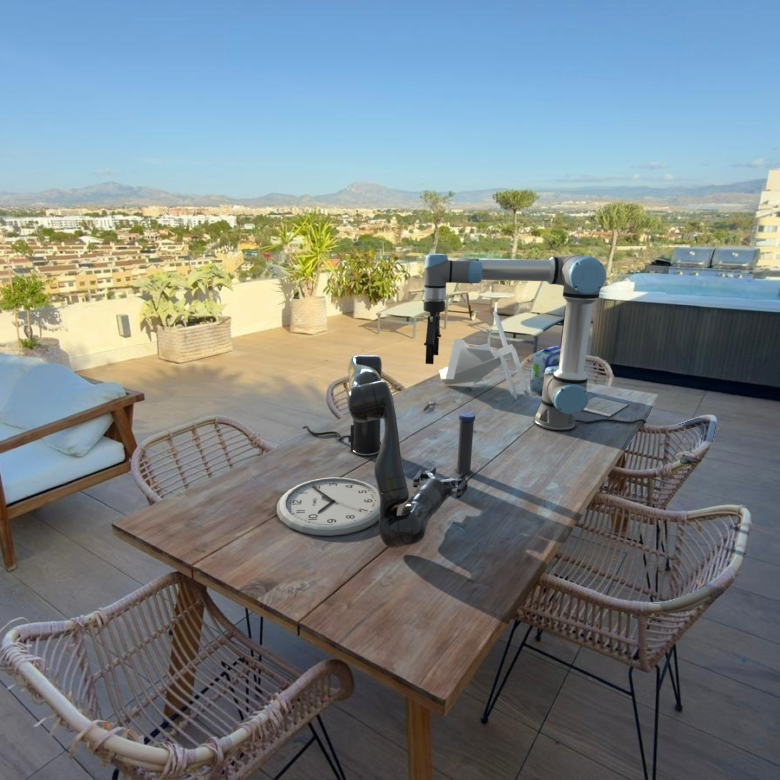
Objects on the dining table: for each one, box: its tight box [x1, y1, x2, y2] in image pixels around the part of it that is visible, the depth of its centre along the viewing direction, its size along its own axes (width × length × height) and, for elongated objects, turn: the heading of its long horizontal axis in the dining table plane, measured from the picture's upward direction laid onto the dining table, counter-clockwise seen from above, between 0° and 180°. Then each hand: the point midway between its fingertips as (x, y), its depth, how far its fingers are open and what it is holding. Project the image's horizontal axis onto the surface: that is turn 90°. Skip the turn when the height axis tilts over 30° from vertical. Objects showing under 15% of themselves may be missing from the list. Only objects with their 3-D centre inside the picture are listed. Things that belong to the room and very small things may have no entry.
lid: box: [458, 411, 476, 422], centre depth 159 cm, size 5×5×2 cm
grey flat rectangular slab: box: [582, 396, 629, 418], centre depth 226 cm, size 21×1×15 cm
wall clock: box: [276, 476, 380, 537], centre depth 142 cm, size 30×2×30 cm
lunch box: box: [529, 345, 561, 394], centre depth 244 cm, size 26×11×21 cm, turn 135°
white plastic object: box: [438, 310, 531, 400], centre depth 245 cm, size 37×45×31 cm
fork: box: [422, 395, 437, 412], centre depth 223 cm, size 3×16×2 cm, turn 160°
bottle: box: [456, 420, 475, 475], centre depth 161 cm, size 4×4×19 cm
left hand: (448, 472), depth 149 cm, fingers open, 8 cm apart
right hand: (432, 359), depth 188 cm, fingers open, 13 cm apart
